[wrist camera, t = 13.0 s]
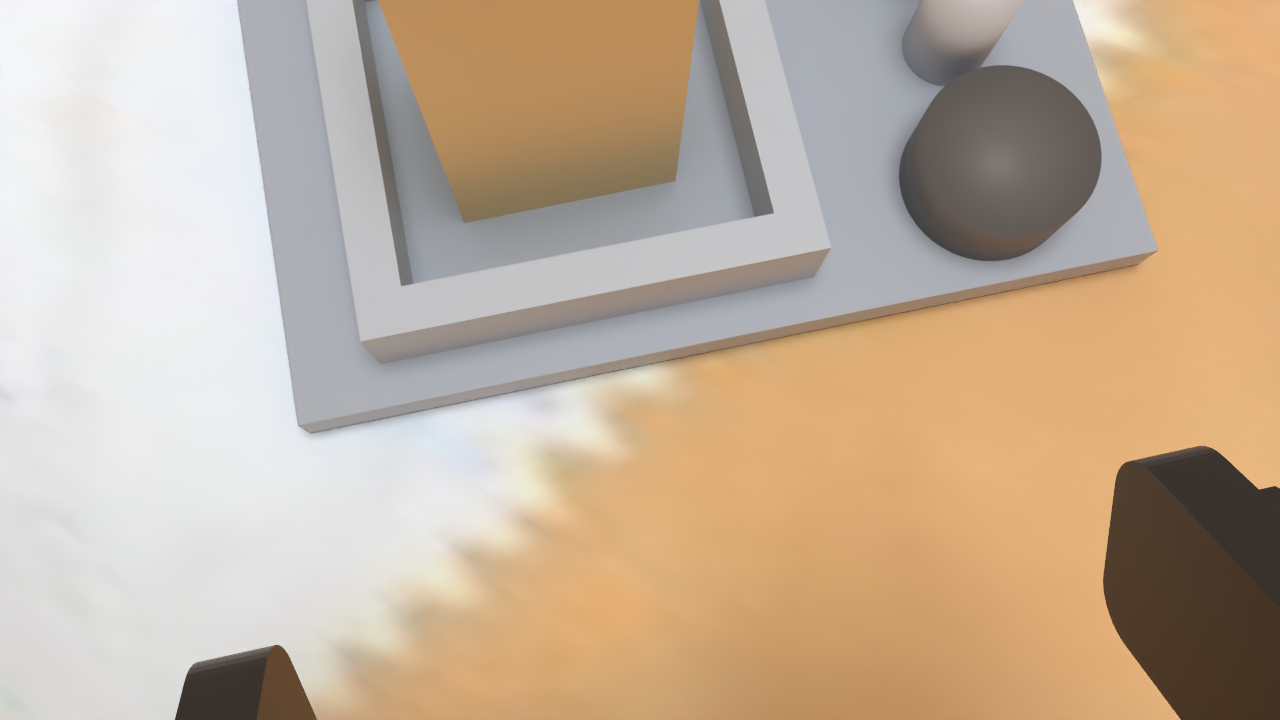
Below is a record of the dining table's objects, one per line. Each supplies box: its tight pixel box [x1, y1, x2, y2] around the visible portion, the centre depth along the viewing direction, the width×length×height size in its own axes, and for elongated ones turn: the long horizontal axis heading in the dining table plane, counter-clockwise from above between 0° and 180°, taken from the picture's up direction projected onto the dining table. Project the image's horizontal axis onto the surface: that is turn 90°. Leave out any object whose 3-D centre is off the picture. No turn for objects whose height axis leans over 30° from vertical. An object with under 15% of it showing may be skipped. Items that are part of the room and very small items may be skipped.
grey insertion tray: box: [237, 0, 1158, 433], centre depth 25 cm, size 20×12×4 cm, turn 102°
